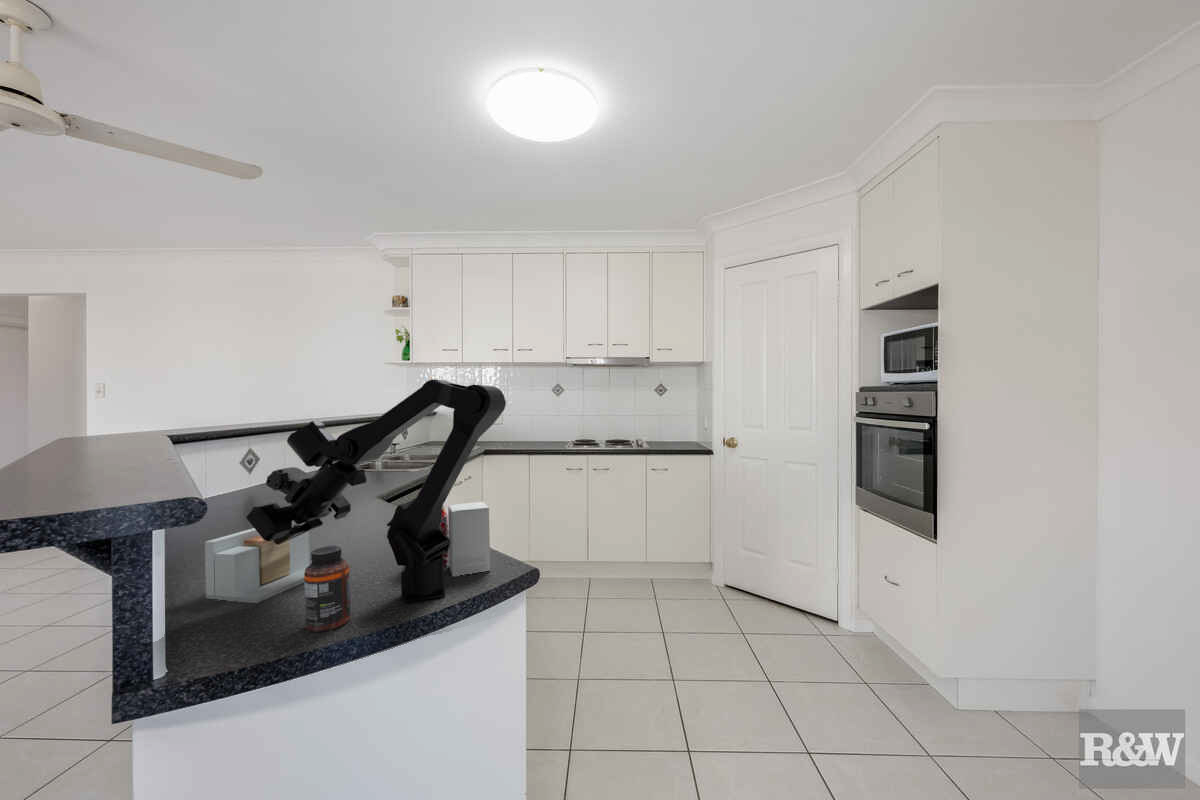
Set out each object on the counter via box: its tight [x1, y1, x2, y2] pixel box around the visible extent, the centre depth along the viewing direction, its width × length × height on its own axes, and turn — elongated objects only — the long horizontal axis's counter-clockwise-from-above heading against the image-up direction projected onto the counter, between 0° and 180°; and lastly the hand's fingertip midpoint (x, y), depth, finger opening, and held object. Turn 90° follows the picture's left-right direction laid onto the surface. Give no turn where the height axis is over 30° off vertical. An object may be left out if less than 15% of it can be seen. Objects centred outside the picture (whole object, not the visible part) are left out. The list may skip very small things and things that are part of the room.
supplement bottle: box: [303, 545, 351, 633], centre depth 73 cm, size 6×6×11 cm
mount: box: [204, 527, 310, 604], centre depth 91 cm, size 11×16×10 cm
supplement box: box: [447, 501, 491, 577], centre depth 97 cm, size 7×7×13 cm
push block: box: [244, 535, 290, 585], centre depth 91 cm, size 4×6×8 cm, turn 168°
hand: (277, 542), depth 91 cm, fingers closed, pressing on push block
